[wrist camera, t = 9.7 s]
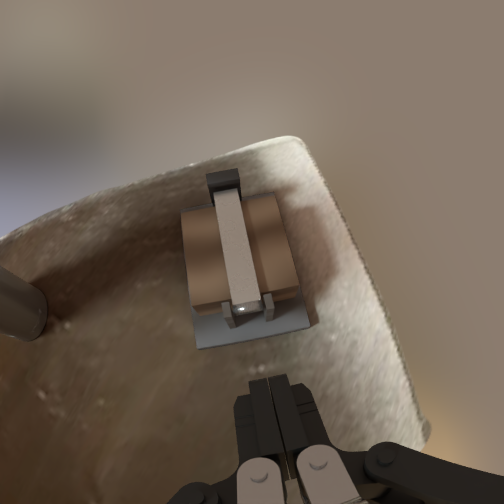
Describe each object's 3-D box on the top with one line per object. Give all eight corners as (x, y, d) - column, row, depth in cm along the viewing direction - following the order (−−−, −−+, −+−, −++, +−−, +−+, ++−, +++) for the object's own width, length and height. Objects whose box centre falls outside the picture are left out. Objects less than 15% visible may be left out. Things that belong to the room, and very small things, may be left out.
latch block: (308, 328, 38) (321, 312, 30) (199, 349, 37) (182, 340, 29) (273, 197, 46) (275, 159, 38) (182, 215, 45) (167, 179, 37)
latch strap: (263, 311, 32) (263, 308, 31) (235, 317, 32) (234, 314, 31) (237, 192, 39) (236, 186, 38) (214, 196, 38) (212, 191, 37)
